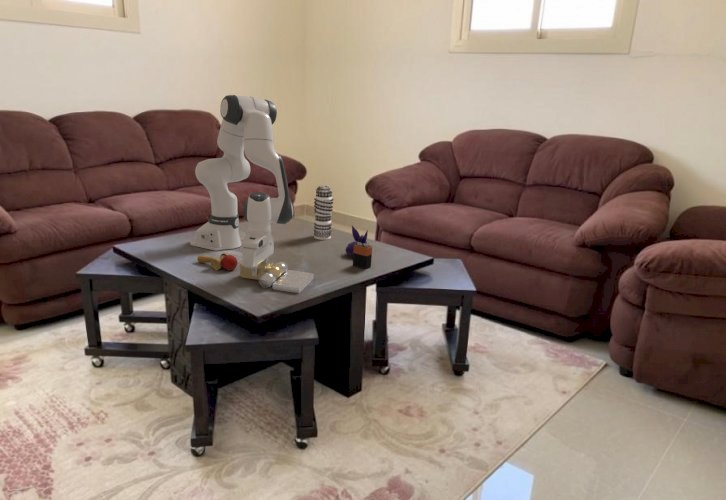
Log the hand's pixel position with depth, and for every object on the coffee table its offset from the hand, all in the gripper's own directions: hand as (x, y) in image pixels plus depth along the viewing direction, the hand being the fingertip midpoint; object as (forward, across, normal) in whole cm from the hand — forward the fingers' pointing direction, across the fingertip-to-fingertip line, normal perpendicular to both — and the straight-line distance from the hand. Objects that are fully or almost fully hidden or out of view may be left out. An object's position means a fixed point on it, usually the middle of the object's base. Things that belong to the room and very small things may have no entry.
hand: (259, 272), depth 198 cm
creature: (+3, -44, +28) cm, 52 cm away
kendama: (+3, -6, -21) cm, 22 cm away
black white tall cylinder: (+3, -62, +5) cm, 62 cm away
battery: (+3, -29, +33) cm, 44 cm away
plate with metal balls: (+2, 0, +11) cm, 12 cm away
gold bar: (+2, 0, +1) cm, 2 cm away
